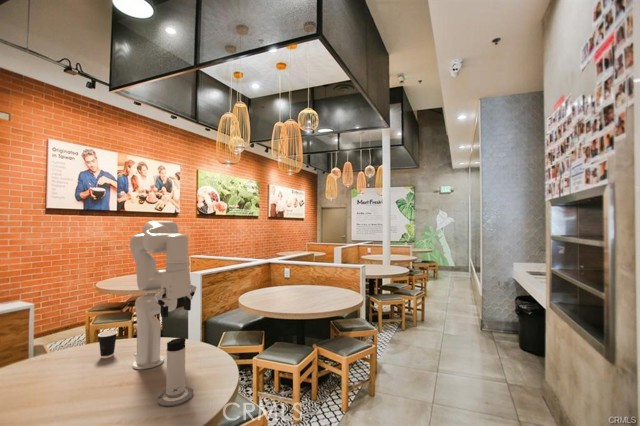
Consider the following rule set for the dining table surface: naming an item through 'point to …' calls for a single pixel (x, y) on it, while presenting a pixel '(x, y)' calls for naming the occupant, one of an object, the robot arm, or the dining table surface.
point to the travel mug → (175, 368)
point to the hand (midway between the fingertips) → (176, 313)
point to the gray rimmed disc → (171, 402)
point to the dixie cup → (107, 343)
